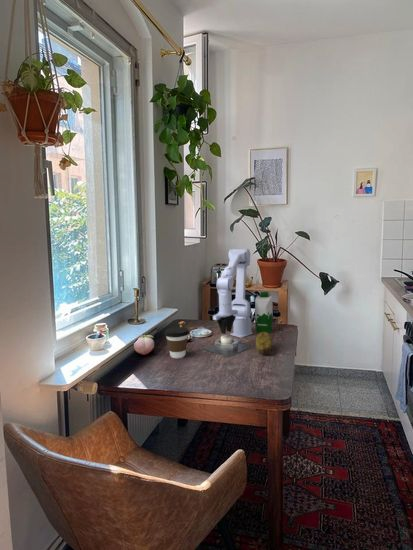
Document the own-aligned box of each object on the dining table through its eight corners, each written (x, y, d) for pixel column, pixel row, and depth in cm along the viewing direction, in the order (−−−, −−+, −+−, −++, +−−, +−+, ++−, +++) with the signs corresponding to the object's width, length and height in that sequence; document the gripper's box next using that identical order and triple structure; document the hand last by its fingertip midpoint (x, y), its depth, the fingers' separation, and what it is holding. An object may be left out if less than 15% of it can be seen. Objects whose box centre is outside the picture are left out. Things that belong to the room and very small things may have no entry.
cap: (226, 344, 192) (226, 333, 191) (234, 347, 189) (233, 336, 188) (218, 347, 189) (218, 336, 188) (226, 349, 185) (226, 338, 184)
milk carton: (273, 328, 217) (273, 292, 214) (271, 333, 208) (270, 295, 205) (257, 327, 220) (256, 291, 216) (254, 332, 211) (253, 295, 208)
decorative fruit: (152, 350, 190) (151, 329, 188) (156, 355, 182) (155, 334, 181) (132, 353, 187) (130, 332, 185) (135, 359, 179) (134, 337, 178)
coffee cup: (186, 361, 175) (185, 334, 173) (162, 359, 177) (161, 333, 175) (192, 352, 186) (191, 326, 184) (169, 351, 188) (168, 326, 186)
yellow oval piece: (251, 355, 179) (250, 337, 178) (258, 345, 191) (257, 329, 190) (269, 357, 176) (269, 339, 175) (275, 347, 188) (275, 330, 187)
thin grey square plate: (225, 340, 200) (225, 333, 199) (251, 348, 188) (250, 340, 188) (202, 349, 189) (201, 341, 188) (227, 357, 178) (227, 349, 177)
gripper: (229, 299, 193) (230, 327, 195) (207, 305, 183) (208, 334, 185) (240, 301, 188) (241, 329, 190) (219, 307, 178) (219, 337, 180)
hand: (226, 332), depth 187 cm, fingers open, 3 cm apart
